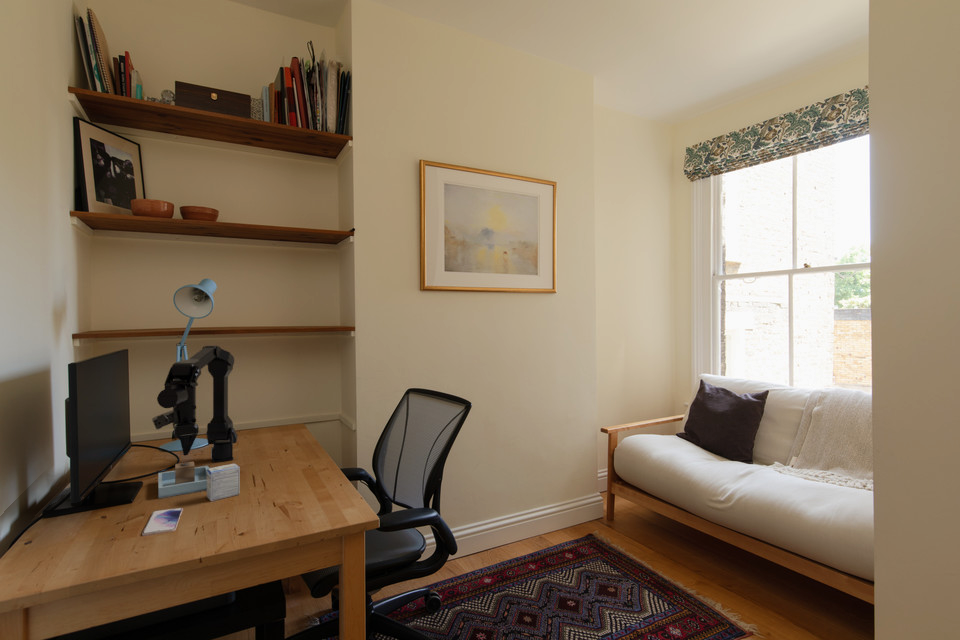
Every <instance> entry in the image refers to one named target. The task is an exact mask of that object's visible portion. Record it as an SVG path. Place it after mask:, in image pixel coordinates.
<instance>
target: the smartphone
mask: <svg viewBox="0 0 960 640" xmlns="http://www.w3.org/2000/svg"><path fill="white" fill-rule="evenodd" d="M183 512H184V508H183V507H177V508H168V509H167V508H166V509H160V510H155V511H153V512H152V513H151V515H150V518H149V519H148V521H147V523H146V525H145V527H144V528H143V531H142V533H141V535H142V537H146V536H153V535H160V534H164V533H172V532H174V531H176V530H177V527H178V524H179V522H180V518H181V517H180V516H182V513H183Z"/></svg>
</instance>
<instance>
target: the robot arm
mask: <svg viewBox="0 0 960 640" xmlns="http://www.w3.org/2000/svg"><path fill="white" fill-rule="evenodd" d="M234 357H235V356H234V355H233V354H232V353H231V352H230V351H227V350H224V349H223V348H221V347H220V345H205V346H204V345H203V347H202V349H200V350H199V351H198V352H196V353H195V354H193V355H192V356H191V357H190V358H187V359H183V360H179V361H177V362H174V363H173V364H172V365H171V367H170V368H169V371H168V374H167V376H166V379H165V381H164V385H163V386H164V389H162V390H160V392H159V393H158V395H157V397H156V402H157V403H158V405H159V406H160V407H162V408H164V409H171V408H172V410H169V411H167V412H164V413H161V414H159V415H156V416H154V417H152V418H151V421H152V423H153V425H154V427H155V430H160V429H162V428H163V427H166V426H168V425H171V424H172V428H173V435H174V438H176V439H178V440H179V441H180V445H181V450H182V454H183V456H188V455H189V453H190V451H191V449H192V447H193V444H194V442H195V440H196V438H197V436H198V434H199V430H200V429H199V428H200V427H199V425H198V424H197V423H196V422H197V416H196V415H197V414H196V412H197V411H196V410H197V402H196V401H197V395H196V394H197V392H196V391H197V389H196V388H197V386H198V385H199V383H198V382H197V381H198V379H199V377H200V376H201V375H202V369H203V368H205V367H206V366H207V371H208V373H209V374H210V375H211V377H212V418H211V420H210V421H209V422H208V423H207V424H206V429H207V430H206V433H205V434H206V438H207V445H212V447H210V453H211V454H210V459H211V461H213V463H218V462H219V463H220V462H226V461H233V460H234V456H233V453H234V450H233V449H234V447H233V446H234V444H236V443H237V442H238V437H239V436H238V433H237V432H236V430H235V428H234V422H233V420H232V419H231V417H230V416H229V403H228V402H229V375H230V374H231V372H233V370H234V363H235V358H234Z"/></svg>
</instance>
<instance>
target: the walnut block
mask: <svg viewBox="0 0 960 640" xmlns="http://www.w3.org/2000/svg"><path fill="white" fill-rule="evenodd" d="M174 467H175V468H174V469H175V470H174V471H175V485H176V484H182V483H189V482H195V468H196V466H195V462H194V461H186V462H181V463H180V462H179V463H175V465H174Z"/></svg>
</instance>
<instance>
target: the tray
mask: <svg viewBox="0 0 960 640" xmlns="http://www.w3.org/2000/svg"><path fill="white" fill-rule="evenodd" d="M209 468H210V467H209V465H202V466H198V467H197V466H195V482H189V483H182V484H176V485H175V470H171V471H170V470H169V471H164V472H158V481H157V482H158V483H157V484H158V487H157V488H158V489H157V490H158V499H163V498H164V499H165V498H169V497H176V496H181V495H187V494H192V493H199V492H205V491H207V469H209Z"/></svg>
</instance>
